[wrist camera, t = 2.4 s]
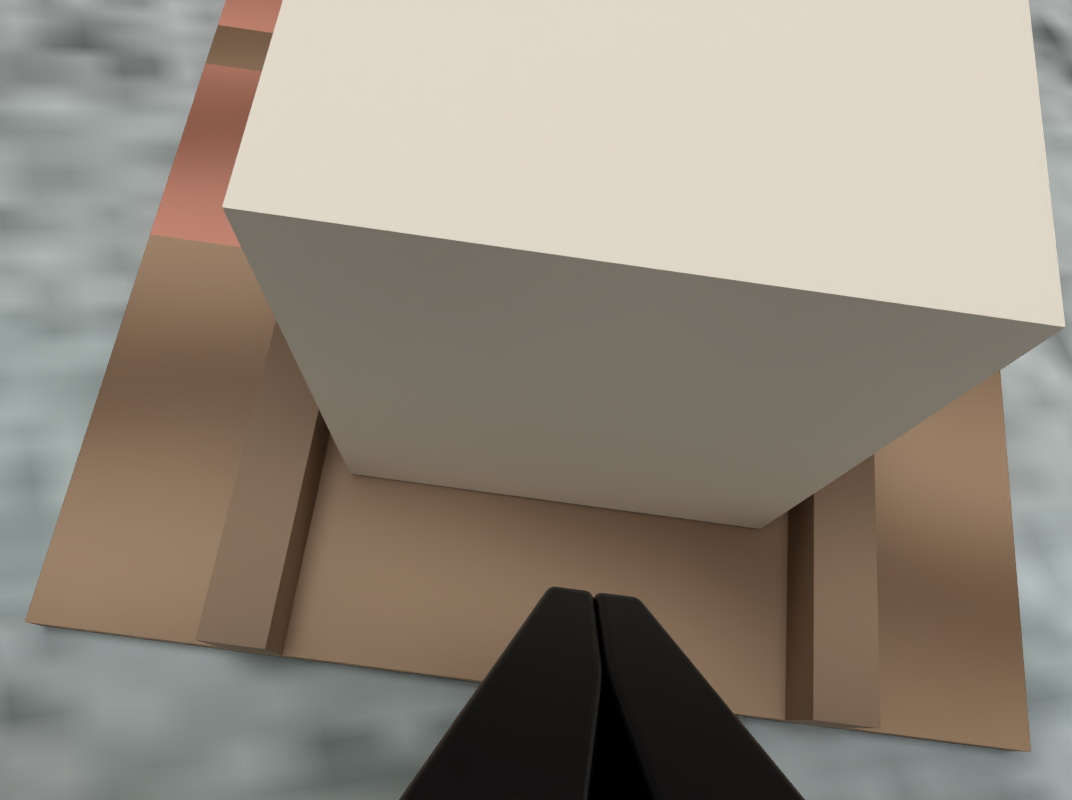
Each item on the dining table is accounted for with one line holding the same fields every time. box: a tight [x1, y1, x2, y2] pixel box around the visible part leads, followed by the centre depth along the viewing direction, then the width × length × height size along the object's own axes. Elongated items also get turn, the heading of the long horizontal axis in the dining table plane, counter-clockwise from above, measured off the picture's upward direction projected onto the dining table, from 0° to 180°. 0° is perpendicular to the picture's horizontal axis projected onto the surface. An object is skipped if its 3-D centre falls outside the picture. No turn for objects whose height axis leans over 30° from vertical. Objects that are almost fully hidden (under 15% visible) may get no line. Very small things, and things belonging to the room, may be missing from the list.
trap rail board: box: [25, 0, 1031, 752], centre depth 16 cm, size 21×16×4 cm
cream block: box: [222, 0, 1065, 529], centre depth 12 cm, size 5×7×8 cm
